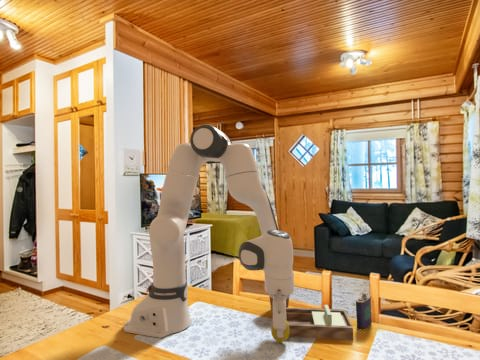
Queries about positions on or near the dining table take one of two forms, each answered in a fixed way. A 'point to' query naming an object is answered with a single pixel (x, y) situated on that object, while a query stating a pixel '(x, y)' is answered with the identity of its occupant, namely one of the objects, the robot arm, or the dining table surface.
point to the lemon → (285, 333)
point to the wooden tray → (305, 327)
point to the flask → (363, 311)
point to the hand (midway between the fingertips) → (280, 330)
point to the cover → (328, 317)
